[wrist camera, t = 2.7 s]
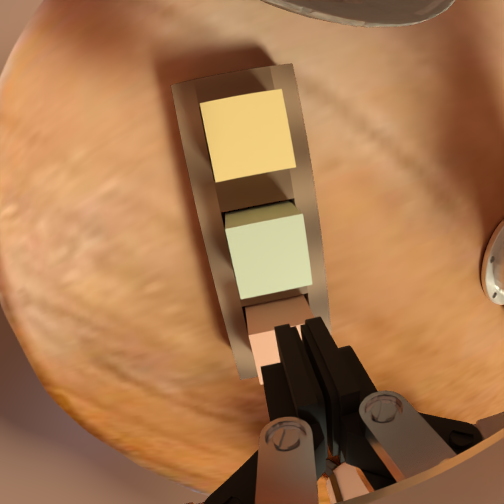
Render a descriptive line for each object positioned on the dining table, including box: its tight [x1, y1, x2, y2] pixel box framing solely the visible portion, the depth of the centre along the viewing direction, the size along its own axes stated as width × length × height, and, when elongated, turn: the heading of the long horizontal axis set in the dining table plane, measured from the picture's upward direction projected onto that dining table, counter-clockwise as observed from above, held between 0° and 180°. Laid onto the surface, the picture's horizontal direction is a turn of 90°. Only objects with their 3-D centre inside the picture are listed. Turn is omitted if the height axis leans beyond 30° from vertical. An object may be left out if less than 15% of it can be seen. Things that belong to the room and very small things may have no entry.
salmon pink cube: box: [245, 294, 315, 385], centre depth 26 cm, size 5×5×5 cm
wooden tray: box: [171, 64, 331, 380], centre depth 27 cm, size 26×9×4 cm, turn 11°
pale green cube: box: [225, 201, 312, 299], centre depth 24 cm, size 5×5×5 cm
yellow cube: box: [200, 89, 296, 182], centre depth 21 cm, size 5×5×5 cm
